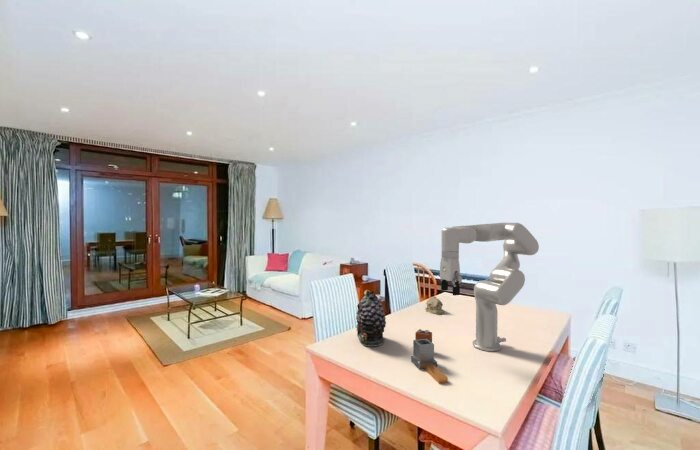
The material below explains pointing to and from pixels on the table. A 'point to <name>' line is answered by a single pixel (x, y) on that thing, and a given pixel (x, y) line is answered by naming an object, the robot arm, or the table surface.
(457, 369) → the table surface
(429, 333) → the battery
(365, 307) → the dark pine cone
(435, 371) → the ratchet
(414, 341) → the hollow square tube
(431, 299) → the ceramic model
